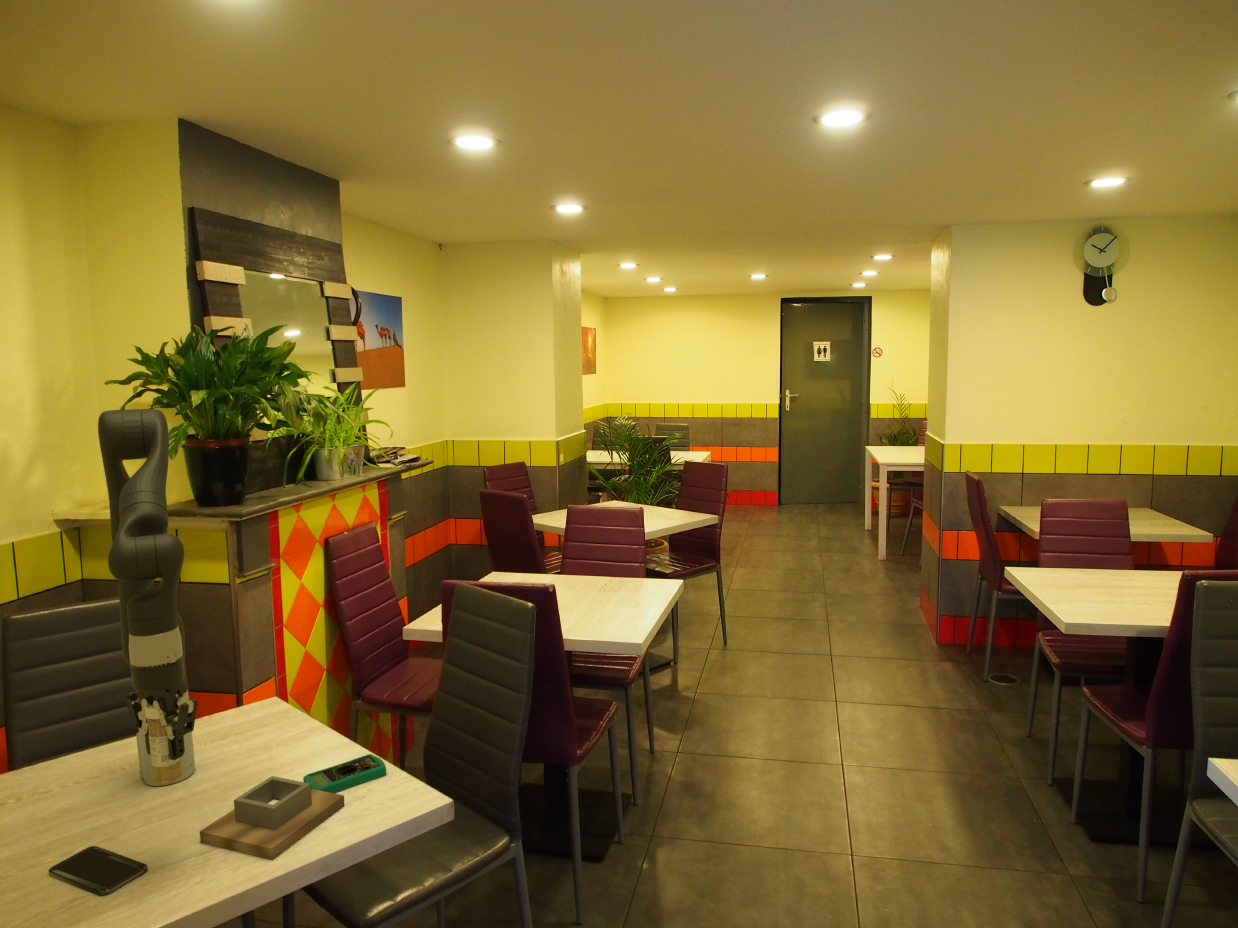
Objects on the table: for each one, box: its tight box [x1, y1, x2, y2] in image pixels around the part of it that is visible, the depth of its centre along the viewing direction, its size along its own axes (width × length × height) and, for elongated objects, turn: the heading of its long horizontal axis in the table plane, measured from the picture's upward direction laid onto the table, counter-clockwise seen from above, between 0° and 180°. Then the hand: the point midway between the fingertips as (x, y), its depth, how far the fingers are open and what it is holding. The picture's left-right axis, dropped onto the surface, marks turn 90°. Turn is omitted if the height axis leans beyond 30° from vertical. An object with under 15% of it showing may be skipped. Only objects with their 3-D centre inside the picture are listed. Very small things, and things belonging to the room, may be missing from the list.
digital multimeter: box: [302, 753, 387, 794], centre depth 163 cm, size 7×15×3 cm, turn 130°
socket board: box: [199, 789, 345, 861], centre depth 148 cm, size 16×18×2 cm
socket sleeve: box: [233, 775, 312, 830], centre depth 148 cm, size 9×9×4 cm
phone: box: [48, 845, 148, 897], centre depth 135 cm, size 8×1×15 cm
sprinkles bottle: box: [145, 705, 183, 786], centre depth 136 cm, size 5×5×13 cm
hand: (166, 754), depth 136 cm, fingers closed on sprinkles bottle, 4 cm apart
